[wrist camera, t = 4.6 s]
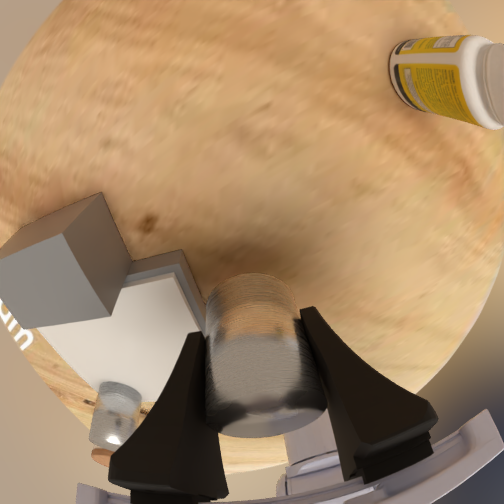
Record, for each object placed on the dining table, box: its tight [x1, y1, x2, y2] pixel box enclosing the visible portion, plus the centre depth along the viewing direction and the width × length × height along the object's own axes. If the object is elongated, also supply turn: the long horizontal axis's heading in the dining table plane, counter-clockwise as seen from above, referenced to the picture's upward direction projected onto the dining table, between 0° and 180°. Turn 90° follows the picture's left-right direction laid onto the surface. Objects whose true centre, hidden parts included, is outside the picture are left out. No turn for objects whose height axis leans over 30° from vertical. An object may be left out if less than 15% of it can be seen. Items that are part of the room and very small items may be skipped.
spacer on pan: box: [89, 381, 142, 452], centre depth 19 cm, size 4×4×6 cm
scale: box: [0, 192, 206, 402], centre depth 17 cm, size 20×15×5 cm
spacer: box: [205, 273, 328, 438], centre depth 11 cm, size 4×4×6 cm
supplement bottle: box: [390, 35, 504, 130], centre depth 8 cm, size 5×5×8 cm
